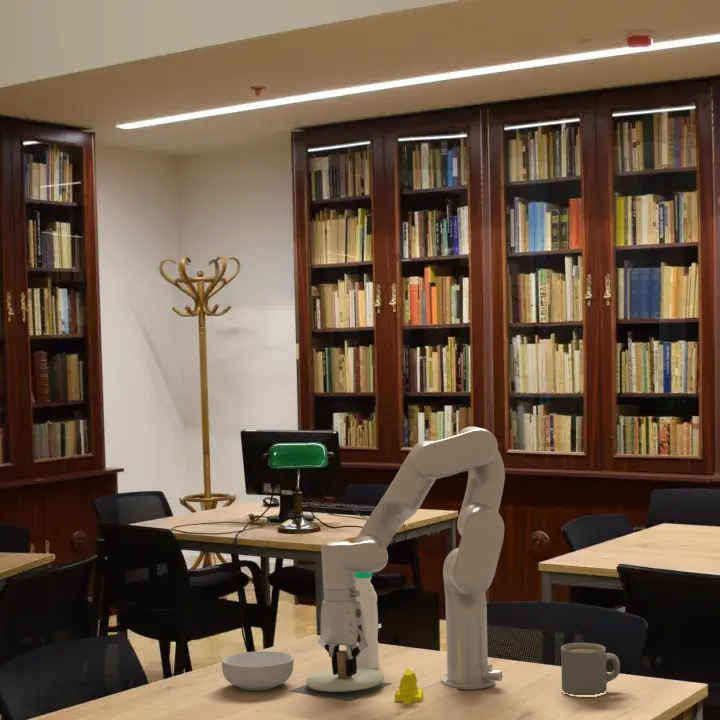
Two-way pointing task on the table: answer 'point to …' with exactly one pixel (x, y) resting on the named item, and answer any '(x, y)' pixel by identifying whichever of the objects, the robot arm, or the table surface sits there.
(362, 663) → the water bottle
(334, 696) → the mat
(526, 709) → the table surface
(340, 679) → the lid
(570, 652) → the coffee mug
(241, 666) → the cereal bowl
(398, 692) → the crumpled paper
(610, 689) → the table surface
